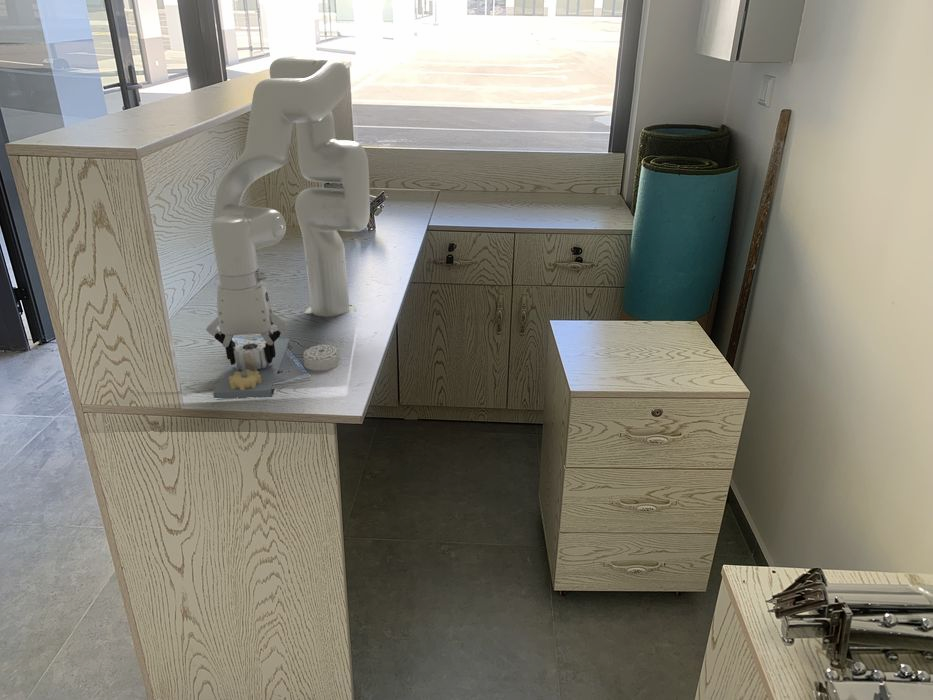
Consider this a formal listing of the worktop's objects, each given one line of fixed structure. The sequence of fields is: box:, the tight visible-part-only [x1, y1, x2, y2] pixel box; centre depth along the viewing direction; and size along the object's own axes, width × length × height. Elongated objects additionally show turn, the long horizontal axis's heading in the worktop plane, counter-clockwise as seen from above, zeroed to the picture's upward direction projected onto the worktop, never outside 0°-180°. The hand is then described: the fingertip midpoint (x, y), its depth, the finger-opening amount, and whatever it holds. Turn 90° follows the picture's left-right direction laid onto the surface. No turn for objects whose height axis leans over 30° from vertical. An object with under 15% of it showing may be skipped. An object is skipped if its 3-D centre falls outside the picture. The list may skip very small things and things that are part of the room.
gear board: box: [212, 338, 291, 399], centre depth 145 cm, size 25×11×4 cm, turn 5°
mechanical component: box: [303, 343, 342, 371], centre depth 146 cm, size 10×4×10 cm
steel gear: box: [233, 339, 270, 371], centre depth 143 cm, size 7×7×4 cm
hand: (252, 360), depth 144 cm, fingers closed on steel gear, 6 cm apart
